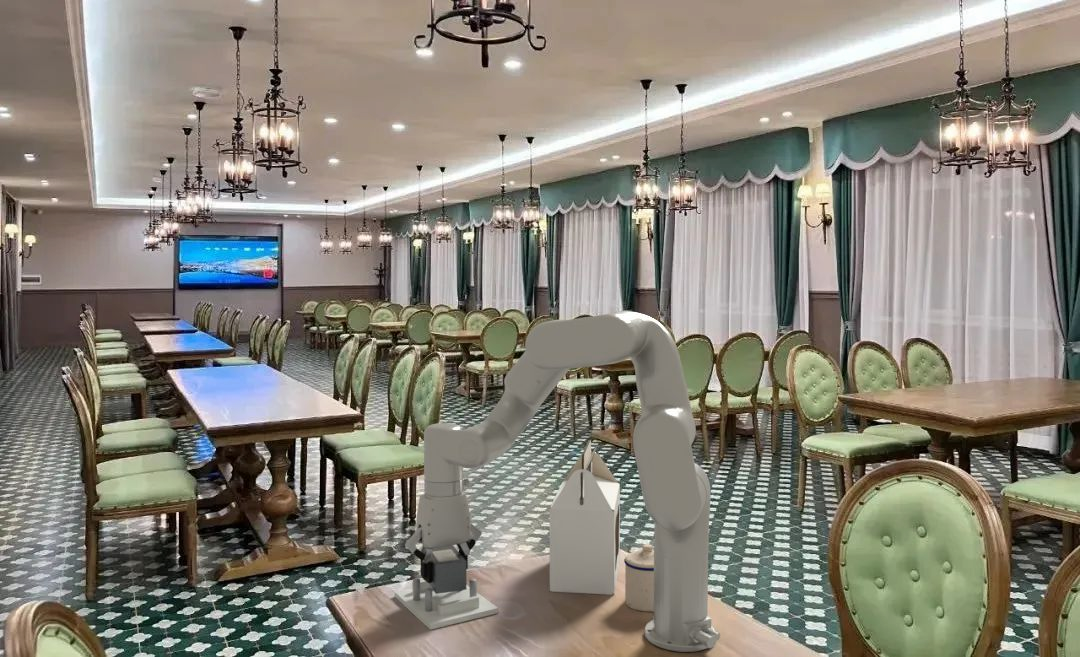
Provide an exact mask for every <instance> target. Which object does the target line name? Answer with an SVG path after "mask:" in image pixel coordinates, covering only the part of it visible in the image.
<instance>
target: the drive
mask: <svg viewBox="0 0 1080 657" xmlns="http://www.w3.org/2000/svg"><path fill="white" fill-rule="evenodd" d="M458 551H459V550H458V549H457V548H456V547H455V545H451V546H446V547H440V548H435V549H434V550H433V553H432V555H431V557H430V562H431V563H432V582H431V583H429V584H430V586H431V587H432V589H433V590H434V592H435V593H436V594H439V593H446V592H453V591H460V590H467V587H466V585H467V569H466V560H465V559H464V558H463V557H462V556H461V554H460V553H459V552H458Z"/></svg>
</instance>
